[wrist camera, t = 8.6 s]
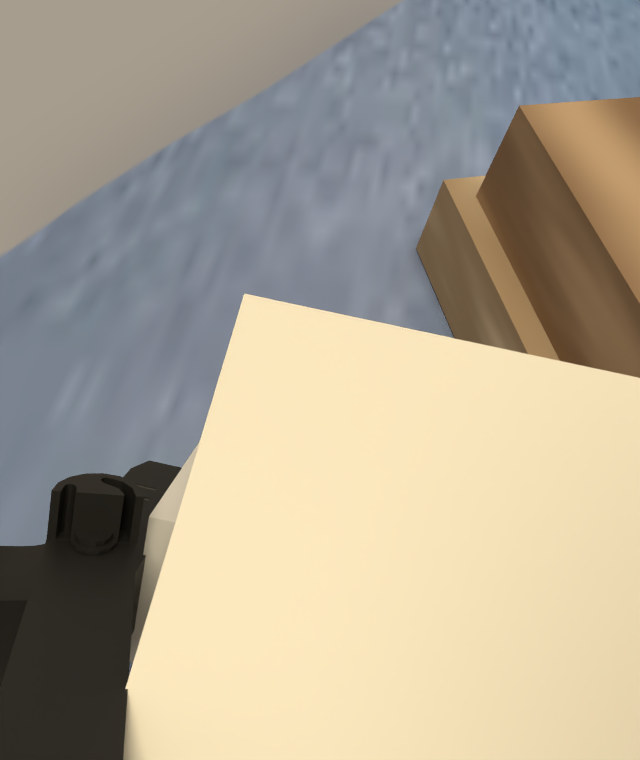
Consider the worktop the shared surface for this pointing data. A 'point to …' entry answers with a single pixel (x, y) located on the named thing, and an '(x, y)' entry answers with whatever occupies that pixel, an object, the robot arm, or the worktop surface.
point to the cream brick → (397, 555)
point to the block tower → (547, 238)
